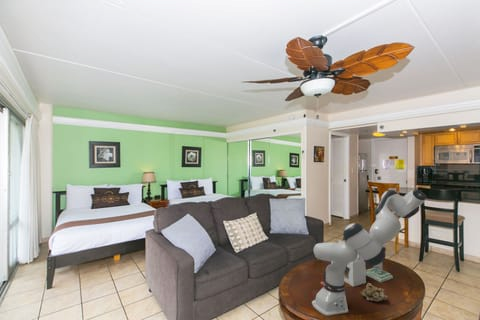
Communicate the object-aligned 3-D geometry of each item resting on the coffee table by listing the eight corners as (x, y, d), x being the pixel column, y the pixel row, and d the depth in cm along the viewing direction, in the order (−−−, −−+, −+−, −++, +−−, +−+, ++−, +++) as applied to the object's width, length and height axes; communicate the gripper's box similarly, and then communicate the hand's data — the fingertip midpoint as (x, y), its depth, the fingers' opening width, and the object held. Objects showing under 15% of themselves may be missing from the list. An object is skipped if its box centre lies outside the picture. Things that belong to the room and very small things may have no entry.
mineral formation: (368, 290, 156) (392, 298, 144) (360, 301, 148) (385, 311, 136) (366, 279, 156) (390, 287, 144) (358, 289, 148) (383, 298, 136)
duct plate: (380, 282, 166) (380, 277, 166) (364, 274, 179) (363, 269, 179) (392, 278, 172) (392, 273, 172) (375, 270, 185) (375, 266, 185)
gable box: (366, 283, 166) (365, 246, 166) (353, 287, 161) (352, 248, 162) (342, 270, 186) (342, 237, 187) (330, 273, 182) (330, 239, 182)
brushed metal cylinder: (379, 276, 172) (378, 260, 172) (372, 272, 177) (371, 257, 177) (384, 274, 174) (383, 259, 174) (377, 271, 179) (376, 256, 180)
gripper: (399, 218, 135) (390, 224, 147) (421, 199, 139) (410, 207, 151) (390, 210, 138) (381, 217, 150) (412, 192, 143) (402, 200, 154)
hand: (396, 212), depth 150 cm, fingers open, 8 cm apart
